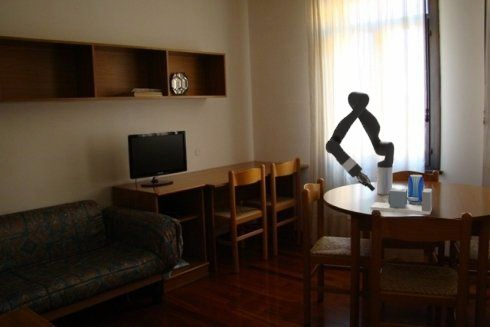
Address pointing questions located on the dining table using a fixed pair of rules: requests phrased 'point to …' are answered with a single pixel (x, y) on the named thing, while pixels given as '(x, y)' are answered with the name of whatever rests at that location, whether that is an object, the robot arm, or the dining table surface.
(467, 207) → the dining table surface
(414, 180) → the beer can
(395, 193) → the gauge carriage
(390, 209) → the board
